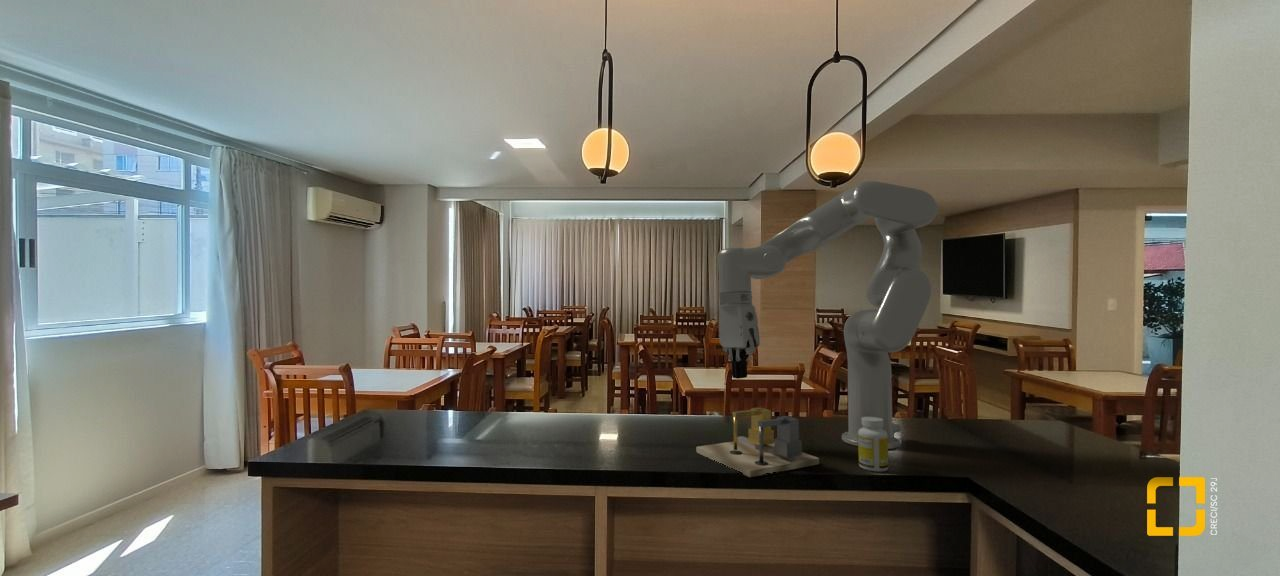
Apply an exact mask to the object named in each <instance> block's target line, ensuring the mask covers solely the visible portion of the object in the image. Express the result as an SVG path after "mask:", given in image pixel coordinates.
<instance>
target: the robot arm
mask: <svg viewBox="0 0 1280 576" xmlns="http://www.w3.org/2000/svg"><path fill="white" fill-rule="evenodd" d="M937 213H938V204H937V202H936V199H935V198H934V197H933V196H932V194H930V193H929V192H927V191H925V190H922V189H919V188H913V187H910V186H909V187H908V186H903V185H902V186H901V185H897V184H894V183H893V184H892V183H888V182H887V183H886V182H880V181H875V180H870V181H869V180H868V181H863V182H860V183H858V184H856V185H855V186H852V187H850V188H848V189H846V190H844V191H842V192H841V193H839V194H837V195H836V196H835V197H832V198H831V199H830V200H828V201H826V202H825V203H823V204H822V205H820V206H819V207H817V208H815V209H814V210H812V211H811V212H809V213H807V214H806V215H804V216H803V217H801V218H800V219H798V220H796V221H795V222H794V223H792V224H790V225H789V226H788V227H786V228H784V229H783V231H781V232H779V233H777V234H775V235H774V236H773V237H771V238H769V239H768V240H766V241H765V242H763V243H761V244H760V245H759V246H755V247H750V248H749V247H748V248H745V247H729V248H723V249H721V250H719V252H718V253H717V270H718V272H717V273H718V290H719V291H718V292H719V314H718V339H719V344H720V346H722V351H723V352H725V353H727V354H728V357H729V361H731V377H732V378H733V379H746V378H747V377H748V367H747V366H748V365H747V362H748V361H749V356H750V355H753V354H755V353H756V348H757V347H758V348H759V346H760V344H761V343H760V342H761V339H760V337H761V336H760V329H759V322H758V316H757V312H756V307H755V305H754V304H753V296H752V293H753V292H752V279H753V280H763V279H768V278H772V277H776V276H778V275H779V274H781V273H782V272H783V270H784V269H785V268H786V265H787V263H789V262H791V261H793V260H794V259H797V258H798V257H799V258H800V257H801V256H803V255H806V254H808V253H811V252H814V251H817V250H818V249H820V248H822V247H824V246H826V245H827V244H829V243H831V242H832V241H834V240H835V239H836V238H838V237H839V236H841V235H842V234H844V233H846V232H847V231H849V230H851V229H852V228H853V227H856V226H857V225H858V224H861V223H862V222H863V221H864V222H865V221H866V220H869V219H872V218H874V223H875V226H876V228H877V230H878V231H879V233H880V235H881V237H882V238H881V239H882V240H883V249H882V250H883V251H882V254H881V255H880V259H879V260H878V263H877V265H876V267H875V269H874V271H873V273H872V276H871V278H870V280H869V282H868V284H867V287H866V291H865V294H866V298H867V300H868V302H869V303H870V304H871V305H872V306H874V307H876V308H878V309H863V310H858V311H855V312H854V313H852V314H850V315H849V316H848V318H847V319H846V320H845V323H844V325H843V326H844V327H843V339H844V344H845V345H844V346H845V350H846V357H847V403H848V404H847V408H848V409H847V410H848V411H847V414H848V415H847V416H848V425H847V426H848V431H845V432H843V433H841V440H842V441H843V442H845V443H846V444H849V445H851V446H855V447H858V430H859V429H860V428H863V426H862V423H861V418H862V417H877V418H881V419H883V424H884V425H883V427H882V429H883V430H884V431H886V432H887V436H888V450H891V449H897V448H899V447H900V446H901V440H900V439H899V438H898V437H896V436H895V433H898V432H899V433H901V432H903V431H904V426H903V424H902V423H893V397H892V396H893V395H892V394H893V391H892V390H893V388H892V383H893V382H892V378H893V377H892V375H893V373H892V363H891V359H890V356H889V353H897V352H900V351H902V350H904V349H905V348H906V347H907V346H908V345H909V344H910V342H911V341H912V340H913V338H914V337H915V336H914V335H916V334H915V333H916V332H917V330H918V327H919V325H920V323H921V320H922V318H923V316H924V314H925V312H926V309H927V307H928V305H929V302H930V300H931V295H932V285H931V281H930V279H929V277H928V276H927V274H926V273H925V272H924V271H922V270H921V269H919V265H920V264H921V260H922V256H923V247H922V242H921V240H920V237H919V236H918V233H917V231H916V230H917V229H919V228H923V227H925V226H927V225H929V224H930V223H931V222H933V220H934V219H935V218H936V215H937Z"/></svg>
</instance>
